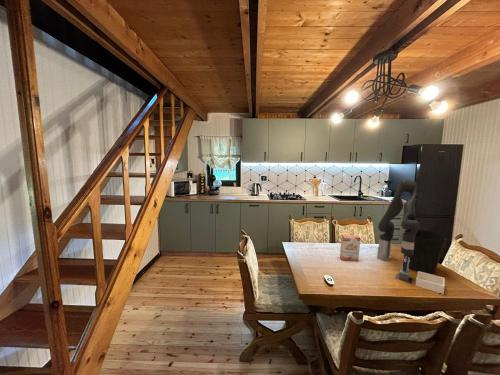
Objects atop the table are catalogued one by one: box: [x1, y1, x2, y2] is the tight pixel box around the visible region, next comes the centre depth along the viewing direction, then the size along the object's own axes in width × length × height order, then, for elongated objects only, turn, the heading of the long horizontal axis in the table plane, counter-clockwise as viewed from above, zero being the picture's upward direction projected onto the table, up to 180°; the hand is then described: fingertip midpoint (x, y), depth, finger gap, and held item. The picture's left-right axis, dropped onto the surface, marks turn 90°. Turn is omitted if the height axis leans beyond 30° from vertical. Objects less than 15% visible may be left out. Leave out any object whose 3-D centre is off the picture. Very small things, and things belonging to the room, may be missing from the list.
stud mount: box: [394, 273, 414, 284], centre depth 174 cm, size 10×10×5 cm
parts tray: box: [415, 271, 446, 295], centre depth 165 cm, size 15×15×6 cm
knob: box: [398, 257, 411, 281], centre depth 173 cm, size 6×6×14 cm
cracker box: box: [339, 234, 361, 262], centre depth 205 cm, size 14×6×21 cm, turn 84°
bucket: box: [404, 229, 448, 275], centre depth 190 cm, size 27×28×30 cm
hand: (404, 269), depth 173 cm, fingers closed on knob, 3 cm apart
